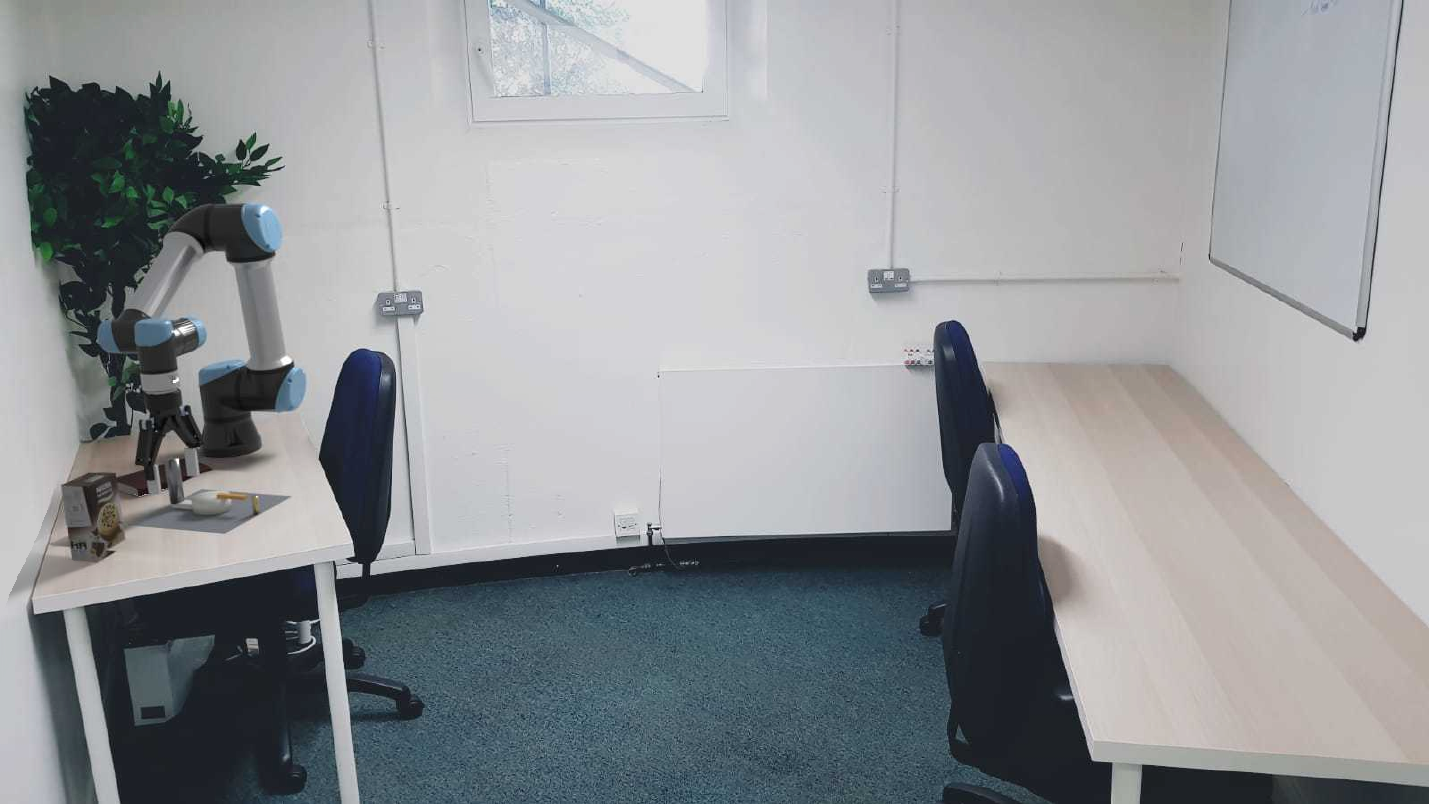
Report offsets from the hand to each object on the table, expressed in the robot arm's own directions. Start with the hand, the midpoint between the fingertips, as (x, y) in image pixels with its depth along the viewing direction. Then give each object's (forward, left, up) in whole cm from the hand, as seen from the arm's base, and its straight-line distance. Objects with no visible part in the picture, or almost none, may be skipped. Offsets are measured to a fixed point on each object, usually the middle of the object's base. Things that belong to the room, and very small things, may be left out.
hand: (174, 484), depth 268 cm
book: (-18, -19, -8) cm, 28 cm away
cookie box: (+24, 0, -7) cm, 25 cm away
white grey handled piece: (0, +9, -5) cm, 10 cm away
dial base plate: (0, +9, -7) cm, 11 cm away
